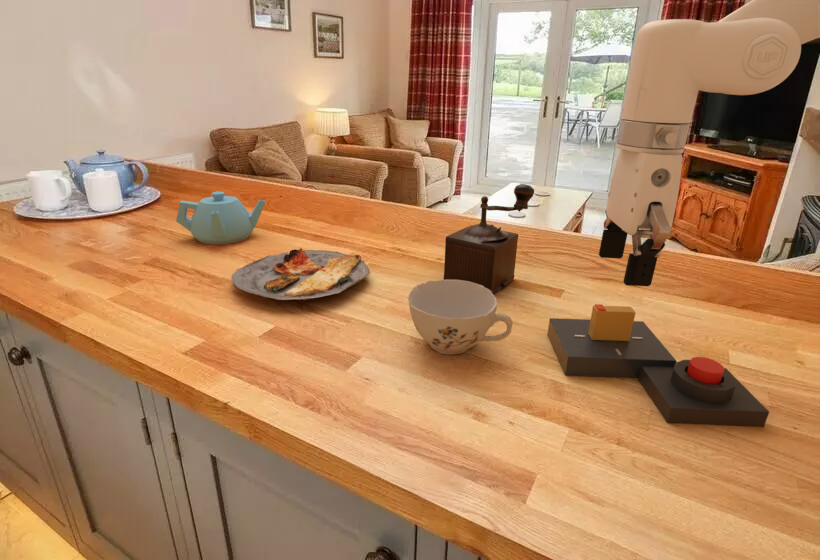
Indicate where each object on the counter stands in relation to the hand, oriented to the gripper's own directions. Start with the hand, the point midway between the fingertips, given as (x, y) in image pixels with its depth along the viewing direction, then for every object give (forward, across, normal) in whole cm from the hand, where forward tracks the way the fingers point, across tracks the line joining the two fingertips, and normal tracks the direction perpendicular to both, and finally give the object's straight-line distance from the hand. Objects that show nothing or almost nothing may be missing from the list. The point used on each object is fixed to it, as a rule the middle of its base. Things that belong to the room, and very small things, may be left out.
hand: (622, 270), depth 65 cm
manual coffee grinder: (+14, +28, +14) cm, 34 cm away
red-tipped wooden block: (+10, 0, 0) cm, 10 cm away
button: (+10, -10, -8) cm, 16 cm away
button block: (+13, -10, -8) cm, 18 cm away
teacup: (+14, +1, +21) cm, 25 cm away
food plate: (+14, +23, +49) cm, 56 cm away
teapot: (+14, +48, +74) cm, 89 cm away
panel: (+13, 0, 0) cm, 13 cm away
